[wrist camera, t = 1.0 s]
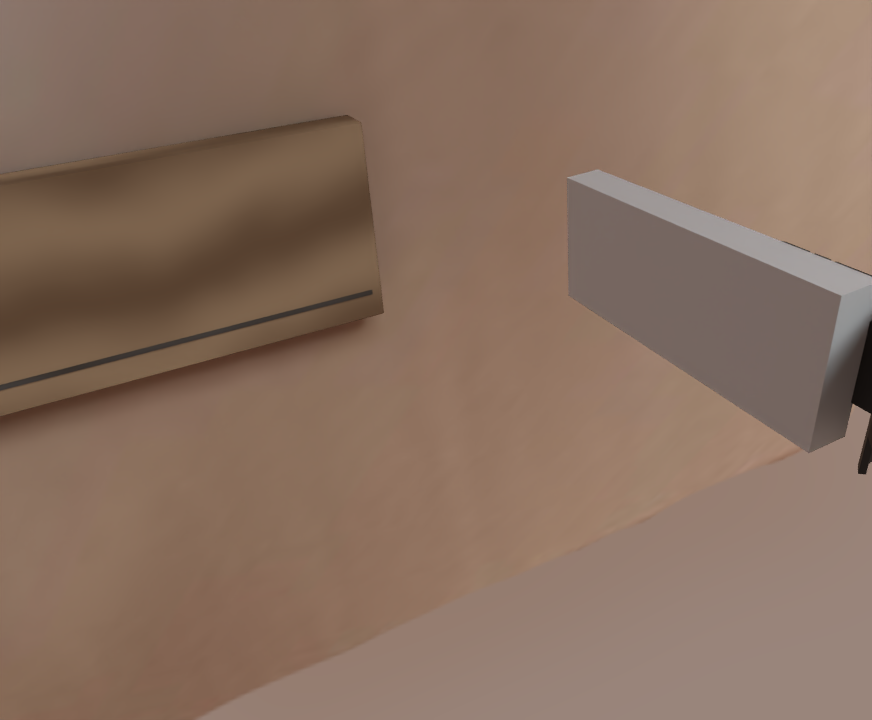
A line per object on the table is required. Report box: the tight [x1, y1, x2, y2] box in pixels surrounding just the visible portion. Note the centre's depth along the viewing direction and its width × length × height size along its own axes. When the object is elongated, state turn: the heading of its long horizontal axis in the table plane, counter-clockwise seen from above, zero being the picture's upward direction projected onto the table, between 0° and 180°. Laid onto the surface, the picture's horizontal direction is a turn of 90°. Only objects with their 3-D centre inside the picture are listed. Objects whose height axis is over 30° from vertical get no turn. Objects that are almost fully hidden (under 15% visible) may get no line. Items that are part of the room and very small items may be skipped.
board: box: [0, 115, 384, 416], centre depth 32 cm, size 10×30×2 cm, turn 95°
